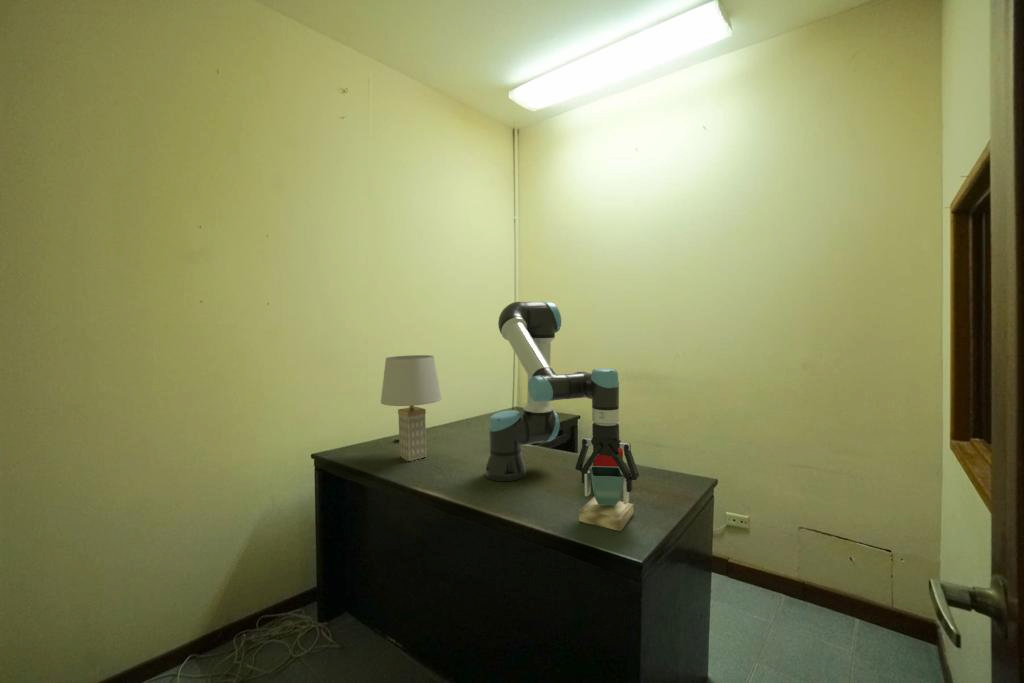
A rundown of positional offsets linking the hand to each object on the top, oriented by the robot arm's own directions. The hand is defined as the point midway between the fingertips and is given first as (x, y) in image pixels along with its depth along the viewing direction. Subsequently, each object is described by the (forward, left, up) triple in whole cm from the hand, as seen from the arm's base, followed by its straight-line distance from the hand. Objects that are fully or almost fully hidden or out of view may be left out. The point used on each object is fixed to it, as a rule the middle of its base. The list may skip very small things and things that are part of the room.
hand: (606, 498), depth 124 cm
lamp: (-91, +14, -6) cm, 92 cm away
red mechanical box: (-10, +29, -6) cm, 31 cm away
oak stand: (0, 0, -6) cm, 6 cm away
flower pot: (0, 0, -1) cm, 1 cm away
